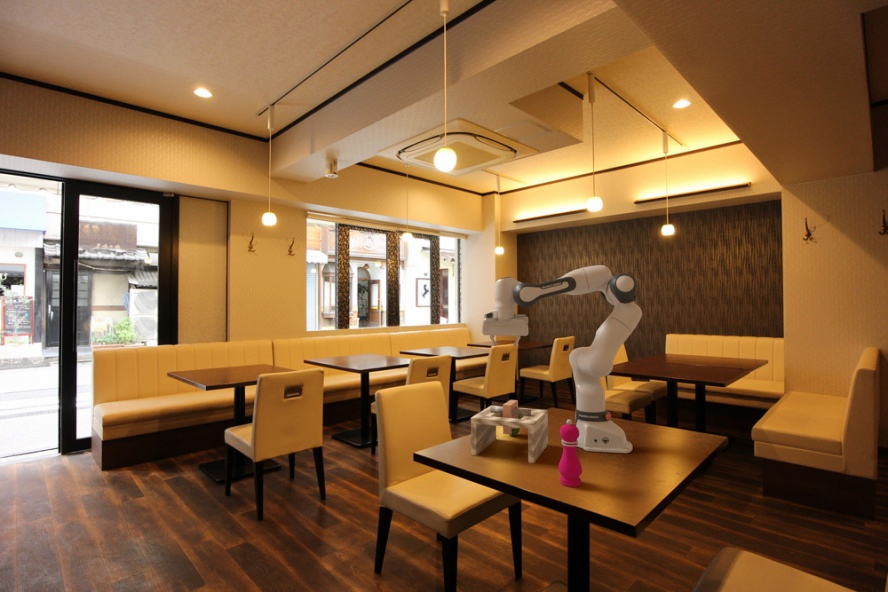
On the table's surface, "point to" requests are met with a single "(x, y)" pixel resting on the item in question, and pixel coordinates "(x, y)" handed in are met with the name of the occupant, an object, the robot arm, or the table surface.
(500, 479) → the table surface
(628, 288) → the robot arm
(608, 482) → the table surface
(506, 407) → the u piece
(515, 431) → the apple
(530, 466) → the table surface
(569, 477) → the pepper mill
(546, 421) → the shelf
